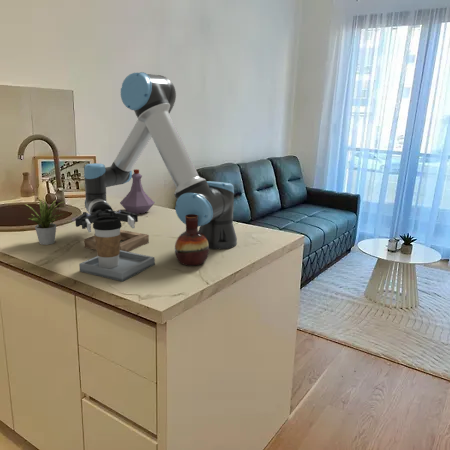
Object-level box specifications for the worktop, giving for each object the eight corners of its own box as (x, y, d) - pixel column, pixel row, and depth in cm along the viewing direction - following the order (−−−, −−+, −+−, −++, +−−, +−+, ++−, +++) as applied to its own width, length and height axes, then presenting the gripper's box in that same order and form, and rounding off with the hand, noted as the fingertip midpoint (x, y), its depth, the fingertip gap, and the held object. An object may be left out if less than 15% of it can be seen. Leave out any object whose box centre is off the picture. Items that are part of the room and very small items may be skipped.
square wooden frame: (148, 242, 157) (148, 234, 157) (120, 254, 143) (120, 246, 143) (114, 236, 164) (114, 228, 163) (84, 247, 150) (83, 239, 149)
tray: (154, 264, 136) (154, 257, 135) (122, 281, 122) (122, 273, 121) (114, 256, 142) (114, 249, 141) (79, 271, 128) (79, 263, 127)
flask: (136, 217, 192) (134, 173, 187) (112, 211, 202) (110, 169, 196) (162, 211, 205) (161, 170, 200) (138, 206, 214) (137, 166, 209)
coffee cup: (113, 271, 127) (111, 222, 123) (89, 267, 129) (86, 219, 125) (128, 262, 134) (126, 216, 130) (104, 259, 137) (102, 213, 133)
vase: (178, 269, 132) (177, 221, 128) (172, 257, 143) (171, 212, 138) (212, 266, 135) (213, 219, 131) (204, 254, 146) (204, 210, 141)
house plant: (79, 241, 156) (76, 197, 152) (47, 251, 145) (43, 204, 140) (53, 234, 163) (50, 192, 159) (20, 243, 152) (16, 198, 147)
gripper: (135, 218, 160) (150, 233, 141) (64, 224, 149) (71, 241, 131) (134, 198, 158) (150, 211, 139) (63, 203, 147) (69, 217, 129)
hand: (112, 226), depth 135 cm, fingers open, 13 cm apart
